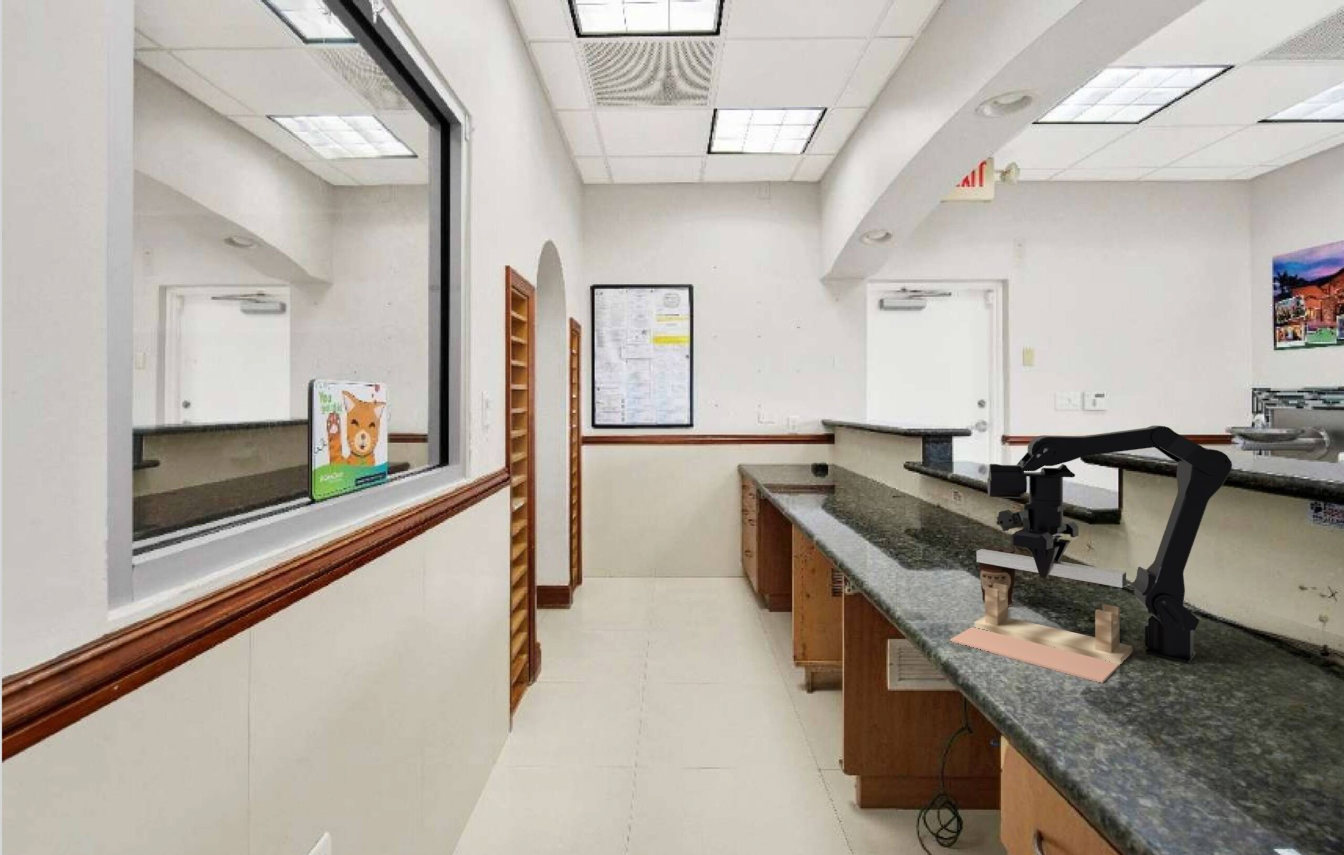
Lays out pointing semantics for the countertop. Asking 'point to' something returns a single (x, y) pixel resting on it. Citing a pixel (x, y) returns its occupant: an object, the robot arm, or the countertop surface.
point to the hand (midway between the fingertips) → (1045, 576)
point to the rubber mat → (1037, 654)
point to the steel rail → (1054, 568)
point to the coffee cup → (997, 575)
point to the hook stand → (1096, 647)
